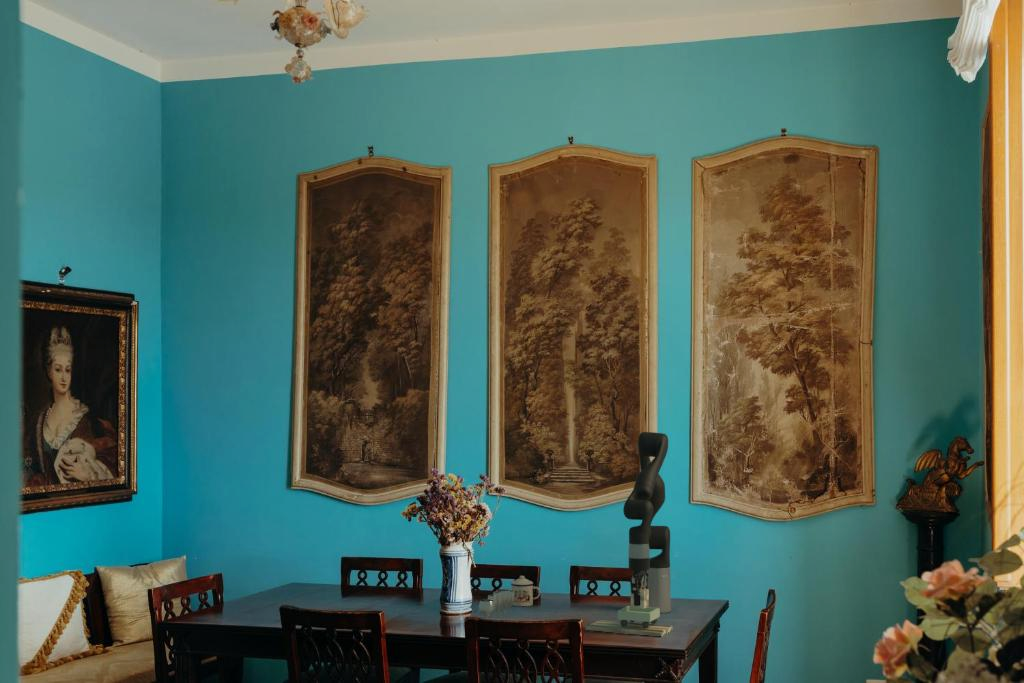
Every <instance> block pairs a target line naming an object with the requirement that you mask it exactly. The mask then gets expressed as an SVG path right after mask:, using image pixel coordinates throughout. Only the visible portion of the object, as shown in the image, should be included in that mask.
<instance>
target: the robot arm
mask: <svg viewBox="0 0 1024 683" xmlns="http://www.w3.org/2000/svg"><path fill="white" fill-rule="evenodd" d="M637 449H638V450H637V451H638V457H639V467H640V472H639V473H638V475H637V476H636V479H635V482H634V486H633V490H632V491H631V493H630V495H629V496H628V497H627V499H626V501H625V502H624V505H623V509H622V510H623V515H624V517H625V518H626V519H627V520H630V521H631V520H635V521H636V520H637V521H641V522H640V524H639V525H635V526H631V527H630V528H629V529H628V530H629V531H628V553H627V554H628V569H629V570H630V571H633V574H632V577H631V576H630V577H629V582H630V595H631V594H633V595H634V605H635V606H640V593H641V592H640V591H641V589H649V607H650V608H660V614H664V613H665V614H666V613H671V611H672V606H671V602H672V598H671V555H670V554H671V553H670V552H671V531H670V527H669V526H667V525H652V522H653V520H654V518H655V516H656V515H657V513H658V512H659V511H660V510H661V508H662V507H663V505H664V504H665V501H666V486H665V485H666V484H665V481H664V480H663V478H662V476H661V475H660V474H659V473H660V471H661V469H662V466H663V463H664V461H665V459H666V457H667V453H668V449H669V438H668V435H667V434H666V433H663V432H653V431H652V432H649V431H642V432H640V434H639V435H638V439H637ZM651 458H653V459H652V460H651ZM650 550H661V552H660V553H659V554H657V555H655V556H653V557H651V554H650Z"/></svg>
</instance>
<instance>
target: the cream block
mask: <svg viewBox="0 0 1024 683" xmlns="http://www.w3.org/2000/svg"><path fill="white" fill-rule="evenodd" d="M640 592H641V593H640V606H635V605H634V595H633V594H631V593H630V606H631V608H642V609H645V608H647V607H649V589H641V591H640Z"/></svg>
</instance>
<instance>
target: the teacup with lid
mask: <svg viewBox="0 0 1024 683" xmlns="http://www.w3.org/2000/svg"><path fill="white" fill-rule="evenodd" d="M510 585H511V590H513V591H514V594H515V598H514V602H513V604H512V605H511V606H514V607H519V606H526V607H530V606H531V607H532V606H533V605H534V603H533V602H534V600H537V599H538V598H539V597H540V595H541V589H540V588H539V587H538V586H534V582H533V581H531V580H529V579H527V578H526V577H525V575H519V578H517V579H515V580H513V581H511V583H510ZM533 589H536V590H537V591H538V594H537V596H533V595H534V593H533V592H534V590H533Z"/></svg>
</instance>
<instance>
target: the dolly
mask: <svg viewBox="0 0 1024 683" xmlns="http://www.w3.org/2000/svg"><path fill="white" fill-rule="evenodd" d="M660 616H661V613H660V608H650V607H647V608H645V609H642V608H631V605H627V606H624V607H622V608H620V609H619V610H617V620H618V621H619V620H620V624H621V626H623V627H625V626H627V624H628V622H632V623H635V622H641V623H642V627H643V628H648V627H649V624H657V623H658V619H659V618H660Z"/></svg>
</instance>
